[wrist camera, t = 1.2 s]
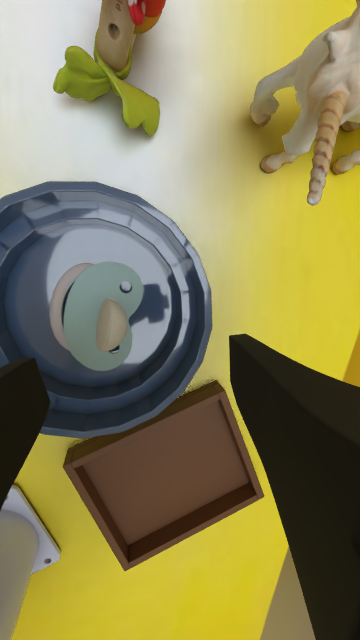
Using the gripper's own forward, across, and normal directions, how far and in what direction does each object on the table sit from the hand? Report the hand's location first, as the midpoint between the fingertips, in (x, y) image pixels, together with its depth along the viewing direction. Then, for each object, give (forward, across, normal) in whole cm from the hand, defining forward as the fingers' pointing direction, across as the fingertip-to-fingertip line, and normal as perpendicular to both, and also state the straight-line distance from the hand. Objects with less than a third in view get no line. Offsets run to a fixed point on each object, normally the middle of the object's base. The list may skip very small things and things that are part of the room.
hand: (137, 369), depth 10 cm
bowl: (+10, +4, +1) cm, 11 cm away
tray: (+8, 0, +15) cm, 17 cm away
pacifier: (+10, +4, +1) cm, 11 cm away
